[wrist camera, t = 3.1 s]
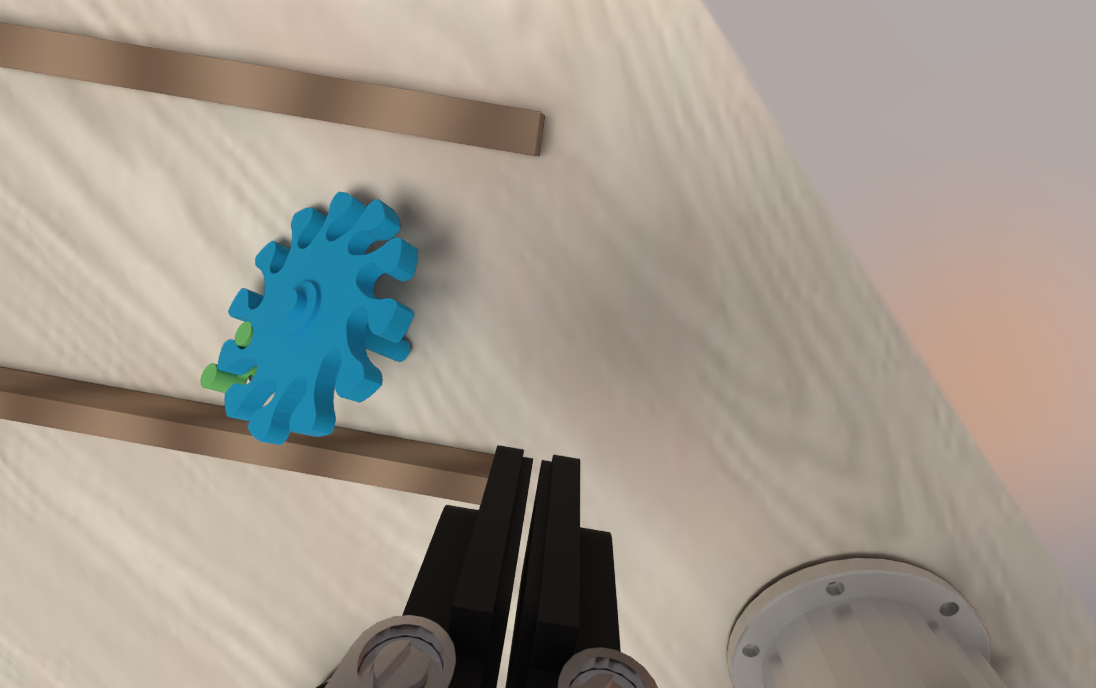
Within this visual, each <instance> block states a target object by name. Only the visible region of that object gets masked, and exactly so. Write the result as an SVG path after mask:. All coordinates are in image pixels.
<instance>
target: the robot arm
mask: <svg viewBox="0 0 1096 688" xmlns="http://www.w3.org/2000/svg"><path fill="white" fill-rule="evenodd" d="M523 454H524V450H523V449H517V448H511V447H505V446H499V445H498V446H497V449H496V452H495V456H494V459H493V463H492V466H491V470H490V473H489V477H488V480H487V484H486V487H485V491H484V494H483V498H482V501H481V505H480V508H479V510H474V509H468V508H462V507H456V506H450V505H446V506H445V507H444V509H443V511H442V514H441V516H440V519H439V521H438V524H437V527H436V529H435V532H434V534H433V537H432V540H431V542H430V545H429V547H428V550H427V553H426V555H425V558H424V560H423V563H422V565H421V568H420V571H419V573H418V576H417V578H416V581H415V584H414V586H413V589H412V591H411V594H410V597H409V599H408V602H407V604H406V607H405V610H404V612H403V615H402V616H395V617H391V618H388V619H386V620H383V621H380V622H377V623H376V624H375V625H373V626H372V627H370V628H369V629H367V630H366V631H364V632H363V633H362V634H361V636H360V637H359V638H358V639H357V640H356V641H355V642H354V644H353V645H352V646H351V648H350V649H349V651H348V653H347V654H346V656H345V657H344V659H343V660H342V662H341V663H340V665H339V666H338V668H337V669H336V671H335V673H334V674H333V676H332V677H331V679H330V680H329V681H328V682H326V683H324V684H322V685H320V686H318V687H316V688H496V686H497V680H498V675H499V669H500V663H501V657H502V651H503V646H504V640H505V634H506V628H507V622H508V616H509V610H510V604H511V597H512V591H513V585H514V578H515V572H516V566H517V559H518V553H519V547H520V540H521V534H522V527H523V521H524V515H525V508H526V502H527V496H528V489H529V483H530V477H531V470H532V464H533V458H527V457H523ZM727 660H728V670H729V674H730V678H731V681H732V685H733V688H1008V687H1007V686H1006V684H1005V683H1004V682H1003V681H1002V679H1001V678H1000V677H999V676H998V674H997V673H996V672H995V671H994V669H993V668H992V667H991V665H990V664H989V661H990V646H989V640H988V634H987V632H986V630H985V628H984V626H983V624H982V621H981V619H980V617H979V616H978V615H977V613H976V612H975V611H974V610H973V609H972V607H971V606H970V605H969V604H968V602H967V601H966V600H965V599H964V597H963V596H962V595H961V594H960V593H958V592H957V591H956V590H955V589H954V588H953V587H952V586H951V585H950V584H949V583H948V582H946V581H944V580H943V579H941V578H939V577H938V576H936V575H934V574H932V573H931V572H929V571H927V570H924V569H921V568H918V567H916V566H913V565H910V564H907V563H903V562H897V561H892V560H886V559H874V558H853V559H844V560H836V561H829V562H826V563H822V564H818V565H815V566H811V567H807V568H805V569H802V570H800V571H798V572H796V573H793V574H791V575H789V576H786V577H784V578H782V579H781V580H779V581H778V582H776V583H775V584H773V585H772V586H770V587H769V588H767V589H765V590H764V591H763V592H762V593H761V594H760V595H759V596H758V597H756V598H755V599H754V600H753V601H752V602H751V603H750V604H749V605H748V606H747V608H746V609H745V610H744V612H743V613H742V615H741V616H740V617H739V619H738V620H737V622H736V624H735V627H734V629H733V631H732V634H731V636H730V639H729V645H728V652H727ZM505 688H658V687H657V684H656V682H655V680H654V679H653V678H652V677H651V675H650V674H649V673H648V671H647V670H646V669H645V668H644V667H643V666H642V665H641V664H639V663H638V662H637V661H636V660H634V659H633V658H632V657H630V656H628V655H626V654H624V653H622V652H621V649H620V636H619V623H618V610H617V597H616V584H615V571H614V558H613V545H612V536H611V533H610V532H605V531H599V530H593V529H587V528H581V527H580V459H577V458H571V457H565V456H559V455H553V458H552V462H551V461H545V460H542V462H541V467H540V473H539V478H538V484H537V490H536V495H535V501H534V507H533V512H532V518H531V524H530V529H529V535H528V541H527V546H526V552H525V558H524V563H523V569H522V575H521V582H520V589H519V596H518V603H517V610H516V617H515V624H514V631H513V638H512V645H511V652H510V659H509V666H508V673H507V680H506V687H505Z"/></svg>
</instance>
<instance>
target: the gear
mask: <svg viewBox="0 0 1096 688" xmlns="http://www.w3.org/2000/svg"><path fill="white" fill-rule="evenodd" d="M400 228H401V227H400V221H399V218H398V216H397V214H396V213H395V211H394V210H393V209H392V208H390V207H389V206H387V205H386V204H385V203H383V202H382V201H380V200H379V199H376V200H374V201H373V202H371V203H370V204H369V205H368V206H366V205H364V204H363V203H361V202H360V201H358V200H357V199H355V198H354V197H353V196H351V195H349V194H348V193H344V192H338V193H337V194H336V195H335V196H334V198H333V199H332V201H331V204H330V208H329V212H328V215H327V216H325V215H323V214H322V213H320V212H319V211H317V210H315V209H314V208H305V209H303V210H301V211H299V212H297V213H295V215H294V216H293V219H292V222H291V229H292V243H291V248H290V249H288V248H286V247H284V246H282V245H280V244H278V243H277V242H275V241H271V242H270V243H268V244H267V245H266V246H265V247H264V248H263V249H262V250H261V251H260V252H259V253H258V255H257V256H256V259H255V264H256V266H257V267H258V268H259V269H260V270H261V271H262V273H263V275H264V280H265V292H264V296H262V295H260V294H257V293H255V292H252V291H250V290H248V289H245V288H242V289H241V290H240V291H239V292H238V294H237V295H236V297H235V299H234V300H233V302H232V304H231V306H230V308H229V310H228V312H229V315H230V316H231V317H233V318H236V319H239V320H242V321H244V323H242V324H241V325H240V327H239V328H238V330H237V332H236V335H235V340H231V339H230V340H227V341H226V342H225V343H224V344H223V346H222V349H221V352H220V356H219V360H218V365H217V364H213V363H211V364H209V365H208V366H207V367H206V368H205V370H204V371H203V373H202V376H201V386H202V387H203V388H207V389H211V390H215V391H219V392H223V393H225V410H226V414H227V417H231V418H236V419H240V420H245V421H250V422H249V424H248V429H249V432H250V433H251V435H252V436H253V437H254V438H255V439H257V440H258V441H260V442H265V443H271V444H276V445H282V444H283V443H284V442H285V441H286V439H287V438H288V436H289V433H290V431H292V432H295V433H300V434H304V435H309V436H315V437H320V436H325V435H329V434H331V433H332V431H333V429H334V426H335V421H336V416H335V411H334V404H333V398H334V389H335V388H336V392H337V394H338V395H339V396H340V397H342V398H346V399H349V400H352V401H356V402H362V401H364V400H366V399H367V398H369V397H370V396H371V395H372V394H373V393H375V392H376V391H377V390H378V389H379V387H380V386H381V385H382V381H383V379H382V374H381V371H380V370H379V369H378V368H377V367H375V366H374V365H373V364H372V363H371V362H370V360H369V358H368V356H367V353H366V349H368V350H370V351H373V352H375V353H378V354H380V355H383V356H385V357H388V358H390V359H393V360H395V361H398V362H401V361H403V360H405V359H406V358H407V356H408V355H409V352H410V344H409V342H407V341H405V340H403V339H402V338H403V336H404V335H405V333H406V332H407V330H408V328H409V326H410V324H411V322H412V319H413V317H414V315H415V314H414V312H413V310H412V309H411V308H409V307H407V306H405V305H403V304H401V303H399V302H397V301H395V300H394V299H391V298H385V299H377V298H376V297H375V295H374V293H373V287H374V284H375V282H376V280H377V279H378V277H379V276H380V275H382V274H383V273H386V274H388V275H390V276H392V277H393V278H395V279H397V280H399V281H407V280H409V279H411V278H412V277H413V276H414V273H415V270H416V265H417V249H416V248H415V247H413V246H412V245H410V244H409V243H407V242H406V241H404V240H403V239H401V238H393V237H394V236H395V235H396V234H397V233H398V232H399V230H400ZM391 238H393V239H391ZM389 239H391V240H389ZM380 240H389V241H388V242H387V243H385V244H384V245H383V246H382V247H380V248H379V249H377V250H376V251H374V252H372V253H369V254H366V255H365V253H366V250H367V248H368V247H369V246H370V245H371V244H372V243H373V242H375V241H380ZM368 323H369V324H368ZM248 378H249V380H250V383H248V384H246V383H247V379H248ZM273 393H275V395H274V397H273V399H272V400H271V402H270V403H269V404H267V405H266V406H264V407H262V406H263V405H264V403H265V402H266V401H267V399H268V398H269V397H270V396H271V395H272V394H273Z"/></svg>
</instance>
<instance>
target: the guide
mask: <svg viewBox="0 0 1096 688" xmlns="http://www.w3.org/2000/svg"><path fill="white" fill-rule="evenodd" d="M0 67H5V68H11V69H17V70H23V71H29V72H35V73H41V74H47V75H53V76H59V77H65V78H71V79H77V80H83V81H89V82H95V83H101V84H107V85H113V86H119V87H125V88H131V89H137V90H143V91H149V92H155V93H161V94H167V95H173V96H179V97H185V98H191V99H197V100H203V101H209V102H215V103H221V104H227V105H233V106H239V107H245V108H251V109H257V110H263V111H269V112H275V113H281V114H287V115H293V116H298V117H304V118H310V119H316V120H322V121H328V122H334V123H340V124H346V125H352V126H358V127H364V128H370V129H376V130H382V131H388V132H394V133H400V134H406V135H412V136H418V137H424V138H430V139H436V140H442V141H448V142H454V143H460V144H466V145H472V146H478V147H484V148H490V149H496V150H502V151H508V152H514V153H520V154H526V155H532V156H539V154H540V147H541V140H542V133H543V126H544V119H545V116H544V115H543V114H542V113H541V112H539V111H533V110H526V109H520V108H514V107H508V106H502V105H496V104H490V103H484V102H478V101H472V100H466V99H460V98H454V97H448V96H442V95H436V94H430V93H424V92H418V91H411V90H405V89H399V88H393V87H387V86H381V85H375V84H369V83H363V82H357V81H351V80H345V79H339V78H333V77H327V76H321V75H315V74H309V73H303V72H296V71H290V70H284V69H278V68H272V67H266V66H260V65H254V64H248V63H242V62H236V61H230V60H224V59H218V58H212V57H206V56H200V55H194V54H188V53H181V52H175V51H169V50H163V49H157V48H151V47H145V46H139V45H133V44H127V43H121V42H115V41H109V40H103V39H97V38H91V37H85V36H79V35H73V34H66V33H60V32H54V31H48V30H42V29H36V28H30V27H24V26H18V25H12V24H6V23H0ZM0 419H6V420H12V421H17V422H23V423H28V424H34V425H39V426H45V427H50V428H56V429H61V430H67V431H73V432H78V433H84V434H89V435H95V436H100V437H106V438H111V439H117V440H123V441H128V442H134V443H139V444H145V445H150V446H156V447H161V448H167V449H172V450H178V451H184V452H189V453H195V454H200V455H206V456H211V457H217V458H222V459H228V460H234V461H239V462H245V463H250V464H256V465H261V466H267V467H272V468H278V469H284V470H289V471H295V472H300V473H306V474H311V475H317V476H322V477H328V478H333V479H339V480H345V481H350V482H356V483H361V484H367V485H372V486H378V487H383V488H389V489H395V490H400V491H406V492H411V493H417V494H422V495H428V496H433V497H439V498H444V499H450V500H456V501H461V502H467V503H472V504H478V505H481V501H482V498H483V494H484V491H485V487H486V484H487V480H488V477H489V473H490V470H491V466H492V463H493V459H494V456H495V455H491V454H485V453H480V452H474V451H469V450H463V449H457V448H452V447H446V446H440V445H435V444H429V443H424V442H418V441H412V440H407V439H401V438H396V437H390V436H384V435H379V434H373V433H368V432H362V431H356V430H351V429H345V428H339V427H334V429H333V431H332V433H331V434H329V435H325V436H320V437H315V436H309V435H304V434H300V433H295V432H292V431H290V433H289V436H288V438H287V439H286V441H285V442H284V443H283V444H282V445H276V444H271V443H265V442H260V441H258V440H257V439H255V438H254V437H253V436H252V435H251V433H250V432H249V429H248V424H249V422H250V421H245V420H240V419H236V418H231V417H227V414H226V410H225V407H222V406H216V405H210V404H205V403H199V402H194V401H188V400H182V399H177V398H171V397H166V396H160V395H154V394H149V393H143V392H137V391H132V390H126V389H121V388H115V387H109V386H104V385H98V384H93V383H87V382H81V381H76V380H70V379H65V378H59V377H53V376H48V375H42V374H36V373H31V372H25V371H20V370H14V369H8V368H3V367H0Z"/></svg>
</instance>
